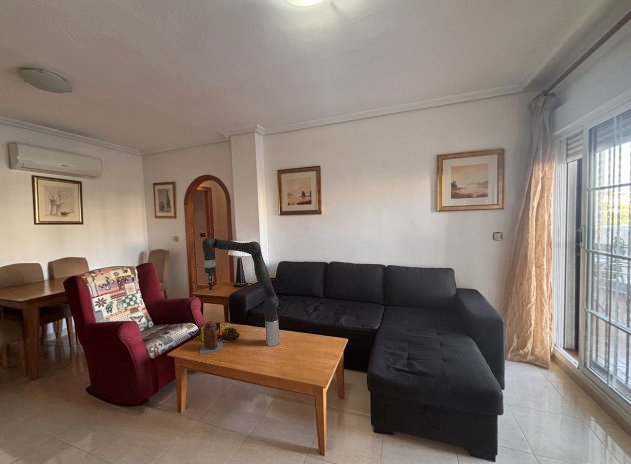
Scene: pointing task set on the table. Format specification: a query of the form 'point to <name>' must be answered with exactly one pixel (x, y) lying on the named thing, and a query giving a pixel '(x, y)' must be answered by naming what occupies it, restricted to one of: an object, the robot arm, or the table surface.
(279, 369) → the table surface
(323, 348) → the table surface
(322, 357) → the table surface
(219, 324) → the puzzle toy
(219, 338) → the green-brown rounded mound
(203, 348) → the gray square panel
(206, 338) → the wooden figurine
